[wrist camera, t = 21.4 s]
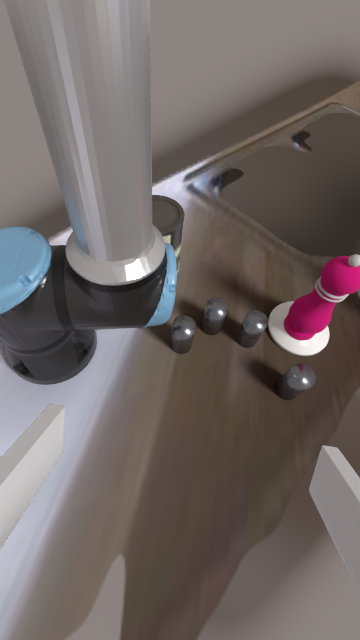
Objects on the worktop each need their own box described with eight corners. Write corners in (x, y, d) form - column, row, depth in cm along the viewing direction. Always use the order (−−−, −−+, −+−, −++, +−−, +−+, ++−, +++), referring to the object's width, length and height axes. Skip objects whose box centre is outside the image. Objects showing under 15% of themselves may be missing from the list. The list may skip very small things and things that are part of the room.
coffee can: (165, 242, 69) (167, 188, 57) (187, 273, 64) (195, 222, 52) (124, 257, 66) (117, 203, 54) (145, 290, 61) (142, 239, 49)
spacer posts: (164, 331, 57) (165, 312, 51) (246, 305, 61) (255, 284, 55) (209, 435, 47) (217, 427, 41) (301, 395, 52) (320, 382, 46)
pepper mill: (277, 311, 60) (326, 237, 42) (311, 311, 60) (372, 238, 43) (285, 343, 56) (343, 276, 39) (321, 343, 57) (394, 276, 39)
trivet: (256, 313, 60) (258, 311, 59) (304, 297, 63) (306, 295, 62) (288, 365, 55) (290, 363, 54) (339, 344, 58) (341, 342, 57)
